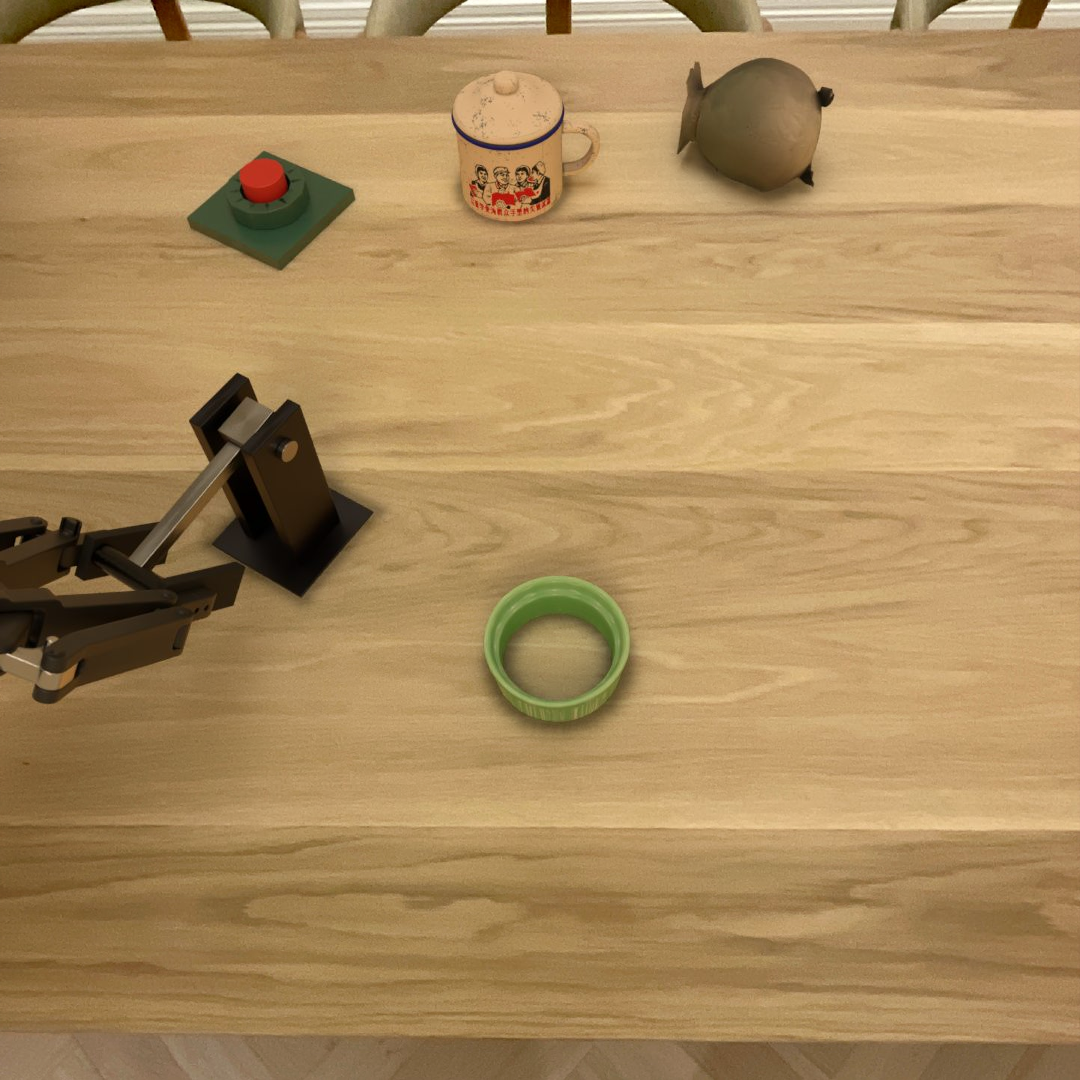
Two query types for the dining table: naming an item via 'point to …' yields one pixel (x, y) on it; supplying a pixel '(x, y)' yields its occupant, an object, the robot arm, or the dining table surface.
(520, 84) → the teacup with lid
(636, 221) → the dining table surface
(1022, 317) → the dining table surface
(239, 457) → the lever
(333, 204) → the button box
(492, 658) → the ramekin
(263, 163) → the button
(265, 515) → the bracket
